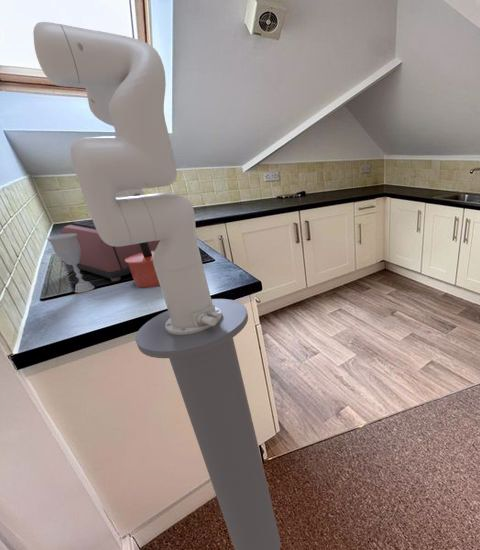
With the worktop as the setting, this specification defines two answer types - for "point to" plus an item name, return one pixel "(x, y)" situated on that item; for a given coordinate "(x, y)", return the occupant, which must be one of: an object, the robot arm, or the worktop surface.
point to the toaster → (102, 251)
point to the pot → (144, 274)
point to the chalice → (70, 256)
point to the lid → (141, 255)
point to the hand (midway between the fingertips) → (142, 237)
